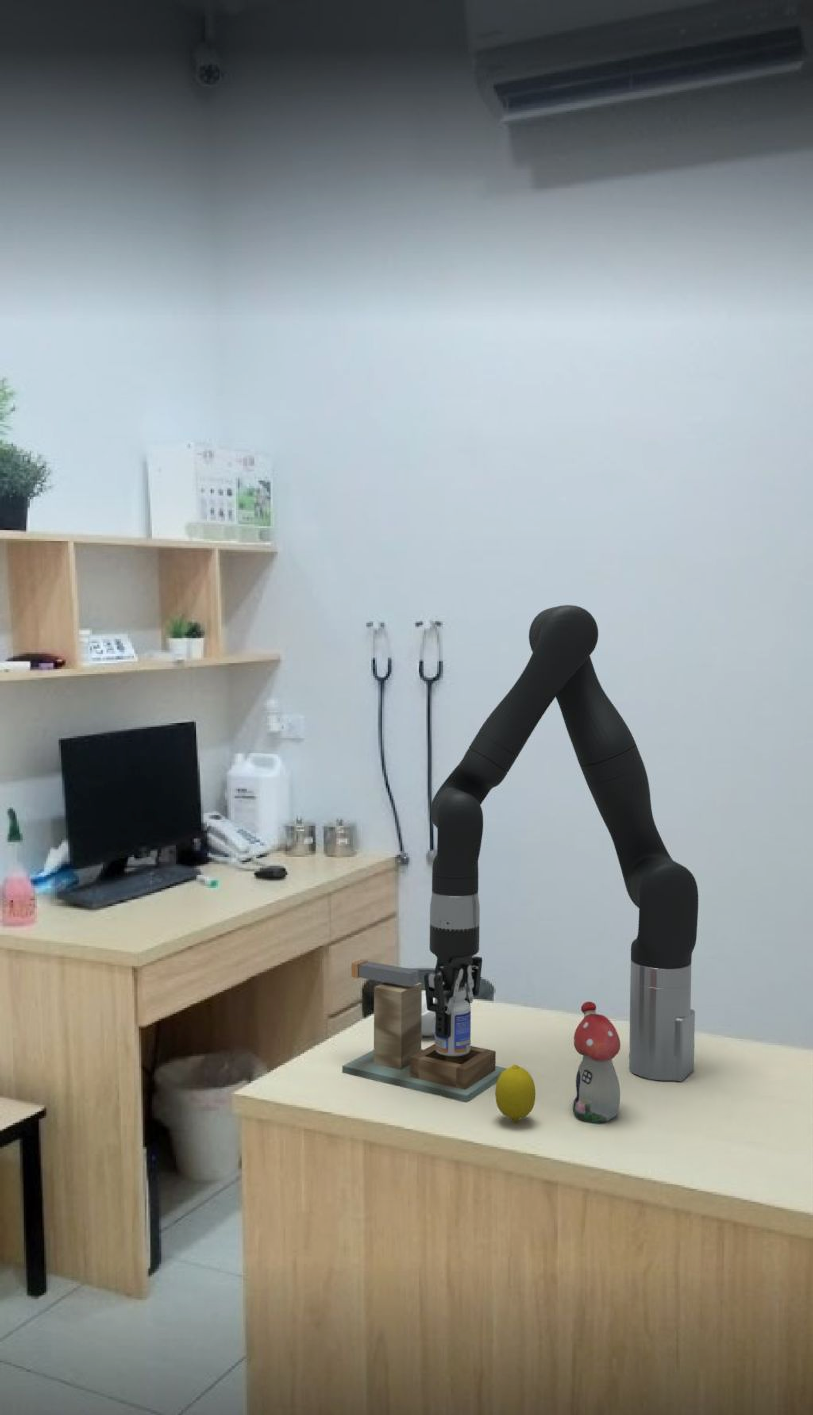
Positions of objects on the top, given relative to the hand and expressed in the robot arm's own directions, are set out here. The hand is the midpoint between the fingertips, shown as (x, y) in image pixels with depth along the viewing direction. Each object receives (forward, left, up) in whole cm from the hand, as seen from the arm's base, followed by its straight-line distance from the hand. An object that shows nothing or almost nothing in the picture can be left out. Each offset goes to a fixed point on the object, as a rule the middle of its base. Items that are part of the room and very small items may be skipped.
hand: (453, 1031), depth 173 cm
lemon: (-15, +9, -8) cm, 19 cm away
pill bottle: (0, 0, -3) cm, 3 cm away
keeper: (+12, 0, +6) cm, 14 cm away
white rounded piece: (+14, -16, -8) cm, 23 cm away
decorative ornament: (-23, 0, -8) cm, 24 cm away
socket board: (+5, 0, -7) cm, 9 cm away
